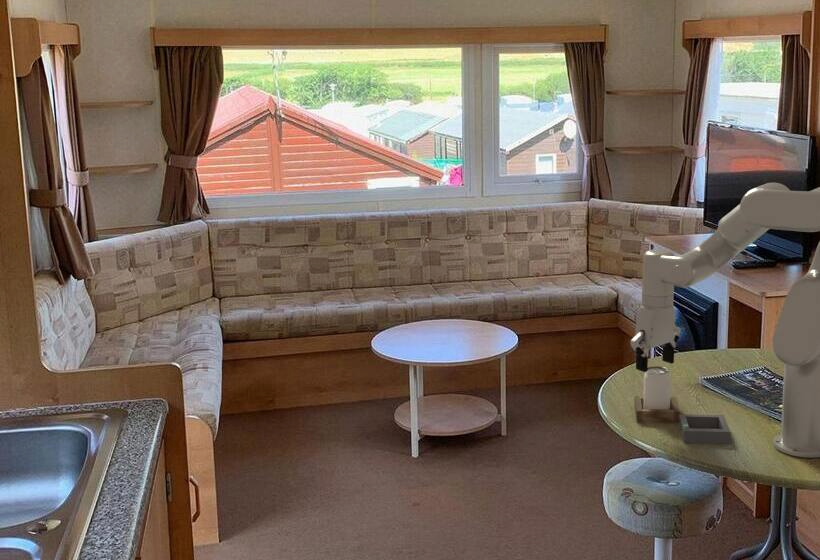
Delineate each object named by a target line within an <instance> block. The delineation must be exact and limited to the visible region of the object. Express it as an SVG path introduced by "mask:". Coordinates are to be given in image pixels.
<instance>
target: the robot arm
mask: <svg viewBox="0 0 820 560" xmlns="http://www.w3.org/2000/svg"><path fill="white" fill-rule="evenodd" d="M717 226H718V227H717V229H716V230H715V232H713V233H712V234H711V235H710V236H709V237H708V238H706V239H705V240H704V241H703V242H702V243H701V244H699V245H697V247H695V248H694V249H692V250H690V251H687V252H686V253H683V254H680V255H675V254H674V252H672V251H671V250H667V249H661V248H659V249H658V248H655V249H649V250H646V251H645V252H644V253H643V257H642V260H643V261H642V279H641V280H642V283H641V306H639V308H638V312H637V316H636V324H635V333H634V337H633V338H631V340H630V346H631V350H632V351H633V352H634V355H635V356H636V357H635V369H636V370H638V371H641V372H642V373H645V372H647V369H648V367H649V366H648V365H649V363H648V362H649V356H647V355H648V353H649V351H650V349H653V348H656V347H658V346H659V347H660V346H662V358H661V359H662V362H666V363H669V364H671V365H672V364H675V348H676V347H677V343H678V341H679V339H680V337H679V336H680V334H681V331H682V328H681V327H679V326H677V325H676V311H675V305H674V299H675V298H674V295H675V293H674V292H675V286H676V287H678V288H689V287H692V286H694V285H696V284H698V283H699V282H702V281H704V280H706V279H708V278H709V277H711V276H712V275H713V274H715V273H716V272H717V271H719V270H720V269H721V268H722V267H724V266H725V265H726V264H728V263H729V262H730V261H732V260H733V258H735V257H736V256H737V255H739V254H740V253H741V252H743V251H744V250H745V249H746V248H747V247H749V246H750V245H751V244H753V243H754V242H755V241H757V239H758V238H760V237H761V236H763V235H764V234H765V233H767V231H769V230H771V229H772V230H781V231H794V232H803V233H804V232H805V233H816V232H820V186H819V187H817V188H814V189H812V190H809V191H805V190H804V191H802V190H790V189H789V188H788V187H787V186H786V185H784V184H782V183H779V182H768V183H765V184H762V185H759V186H757V187H754V188H752V189H750V190H748V191H747V192H746V193H745V194H744V195H743V197H742V198H741V201H740V203H739V204H738V205H737V206H736V207H734V208H733V209H732V210H731V211H730V212H728V213H727V214H726V215H724V216H723V217H722V218H721V219H720V220H719V221H718V223H717ZM776 322H777V323H776V325H775V328H774V331H773V334H772V340H771V347H772V350H773V353H774V355H775V356H776V358H777V359H778V360H779V361H780V362H781V363H782V364H784V371H783V379H782V380H783V381H782V386H783V387H782V407H781V427H780V428H781V429H780V430H781V431H780V433H779V434H777V435H776V436H774V438H773V441H772V442H773V443H772V444H773V446H774V447H775V449H777V450H778V451H780V453H784V454H787V455H790V456H793V457H796V458H797V457H798V458H806V459H807V458H808V459H810V458H811V459H813V458H814V459H815V458H820V241H819V242H818V244H817V246H816V249H815V253H814V256H813V259H812V262H811V264H810V267H809V269H808V271H807V273H805V274H804V276H802V277H800V278H799V279H798V280H796V281H795V282H794V283H793V284H792V285H791V287H790V288H789V290H788V292H787V294H786V296H785V299H784V302H783V304H782V308H781V310H780V314H779V316H778V319H777V321H776Z"/></svg>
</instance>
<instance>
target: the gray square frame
mask: <svg viewBox="0 0 820 560" xmlns="http://www.w3.org/2000/svg"><path fill="white" fill-rule="evenodd" d="M678 427H679V430H680V431H679V432H680V434H681V438H682V442H683V444H709V445H710V444H712V445H713V444H714V445H716V444H718V445H730V444H731V430H730V428H729V425H728V423H727V420H726V417H725V415H724V414H692V413H691V414H683V413H682V414H681V413H680V414H679V423H678Z"/></svg>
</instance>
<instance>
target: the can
mask: <svg viewBox="0 0 820 560" xmlns="http://www.w3.org/2000/svg"><path fill="white" fill-rule="evenodd" d="M671 381H672V380H671V374H670V370H669V368H667V367H664V366H656V365H655V366H654V365H653V366H648V369H647V372H644V373H643V396H644V409H665V410H670V397H671Z"/></svg>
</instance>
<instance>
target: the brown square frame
mask: <svg viewBox="0 0 820 560" xmlns="http://www.w3.org/2000/svg"><path fill="white" fill-rule="evenodd" d="M633 407H634V413H635V421H636V423H645V424H646V423H647V424H649V423H650V424H651V423H654V424H679V414H681V409H680V405H679V402H678V398H677V396H670V410H665V409H644V395H643V396H641V395H635V396H634V406H633Z"/></svg>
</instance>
